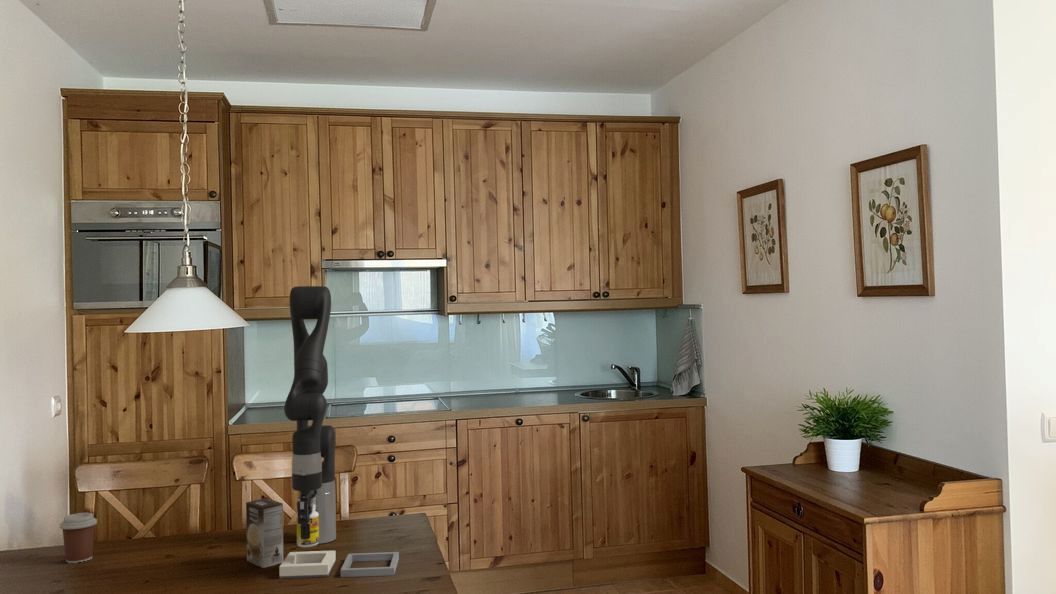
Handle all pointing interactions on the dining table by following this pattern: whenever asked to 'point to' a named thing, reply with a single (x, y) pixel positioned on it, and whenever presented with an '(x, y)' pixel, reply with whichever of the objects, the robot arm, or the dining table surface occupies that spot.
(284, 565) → the holder
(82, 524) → the coffee cup
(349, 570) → the tray
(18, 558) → the dining table surface
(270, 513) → the coffee box
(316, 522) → the supplement bottle
